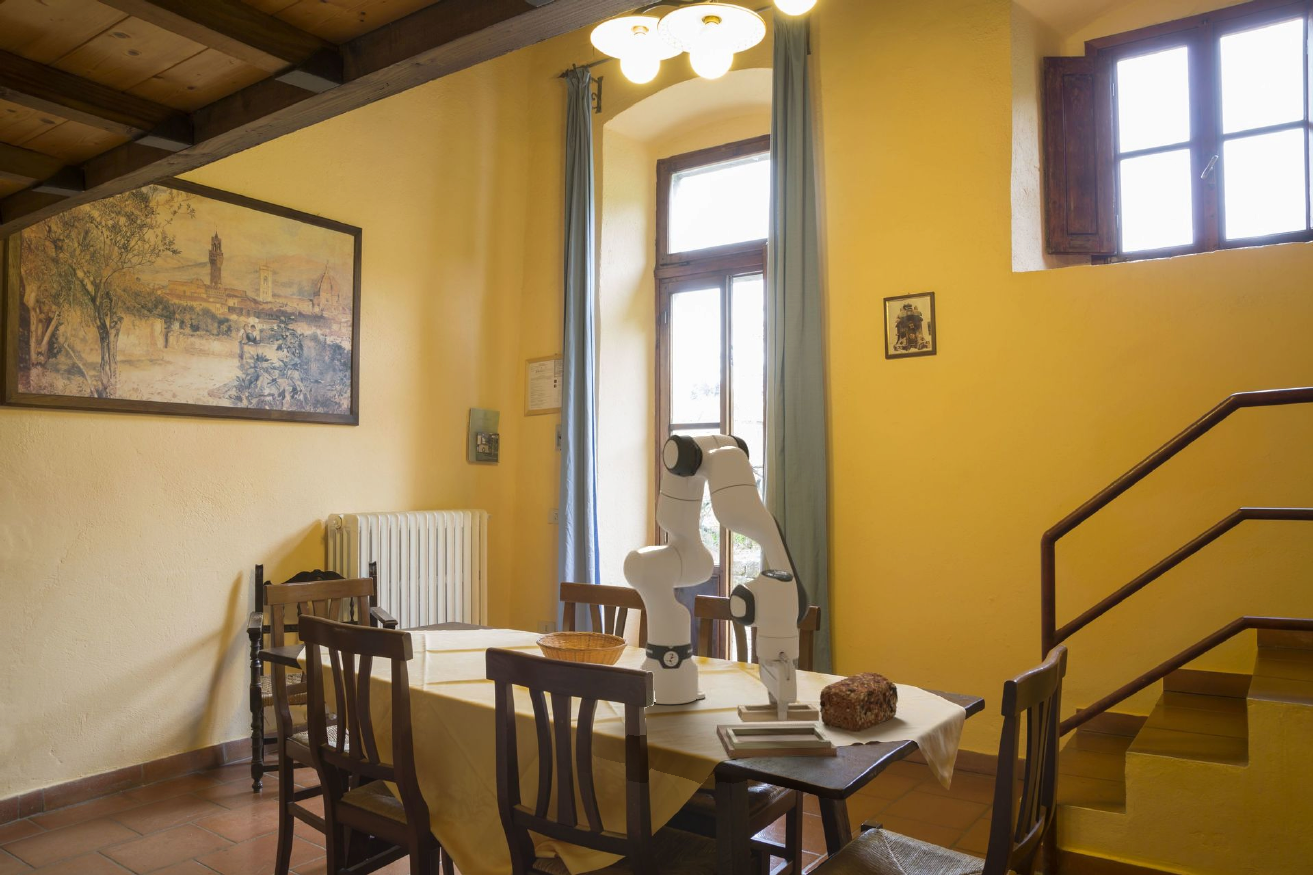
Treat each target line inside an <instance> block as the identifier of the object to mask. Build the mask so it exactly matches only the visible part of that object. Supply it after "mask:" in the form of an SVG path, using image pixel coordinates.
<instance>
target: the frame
mask: <svg viewBox="0 0 1313 875" xmlns="http://www.w3.org/2000/svg"><path fill="white" fill-rule="evenodd" d="M777 710H778V704H769V703H768V704H737V716H738V718H740V720H741V722H742V723H768V722H769V723H773V722H774V723H775V722H776V723H777V722H819V721H820V710H818V709H817V707H815V706H814V704H812V703H789V705H788V709H787V719H786V720H781V721H780V720H779V719H778V718H777Z"/></svg>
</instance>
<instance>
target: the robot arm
mask: <svg viewBox="0 0 1313 875" xmlns="http://www.w3.org/2000/svg"><path fill="white" fill-rule="evenodd" d="M662 461H663V465H664V467H665V470H664V472H663V477H662V481H661V484H660V489H659V495H658V502H657V508H656V514H655V519H656V522H657V524H658V527H660V528H661V529H662V530H663V531H664V532H666V533H668V543H667V544H666V545H649V546H643V547H640V548H636V549H633V550H631V551H630V552H628V553H627V555H626V556H625V559H624V562H623V575H624V579H625V580H626V582H627V583H628V585H630V586H631V587H632V588H633V589H634V590H636V592H637V593H638V595H639V596H640V597H641V600H642V601H643V604H644V607H645V611H646V621H647V622H646V624H647V641H646V642H645V647H644V648H645V656H646V658H645V660H644V661H643V662H642V663H641V665H640V667H639V668H638V669H642V670H646V671H652V673H654V691H655V699H656V703H655V704H659V705H681V704H686V703H687V704H688V703H691V702H694V701H696V699H697V700H700V699H701V700H702V699H704V697H705V698H706V693H705V692H704V691H703V690H701V689H699V666H698V664H697V663H696V662H695V661H694V660H693V658H692V657H693V643H692V641H691V621H692V620H691V618H692V617H691V613H690V611H689V609H688V608H687V607H686V606H685V605H683V604H682V603H680V602H678V600H677V599H676V596H675V588H687V587H695V586H698V585H701V584H702V583H706V582H708V581H710V579H711V578H712V576H713V574H714V570H715V561H714V557H713V555H712V553H711V551H710V550H709V549H708V548H707V547H706V545H704V543H703V541H702V540H703V539H702V538H701V532H700V520H701V514H702V513H701V512H702V504H703V499H704V493H705V486H706V481H707V483H708V489H709V490H708V491H709V497H710V502H711V507H712V512H713V515H714V517H715V519H716V521H717V522H718V523H719V524H720V525H722V526H723V528H725V529H726V530H728V531H730V532H733V533H735V534H737V535H741V536H743V537H746V538H747V539H749V540H752V541H753V542H755V543H756V544H758V545H759V546H760V548H761V549H762V550H763V552H764V555H765V557H766V561H767V563H768V566H769V569H765V570H764V569H763V570H762V571H760V572H759V573H758V575H757V577H756V578H754V579H753V580H750V581H746V582H744V583H741V584H737V585H736V586H735V587H734V588H733V590H732V591H731V593H730V596H729V600H728V608H729V613H730V616H731V618H732V619H733V620H734V621H735V623H737V625H739V626H741V627H747V628H755V627H756V628H757V629H756V639H755V643H754V644H755V645H754V646H755V650H756V657H757V661H758V672H759V673H758V674H759V678H760V679H759V680H760V682H761V683H762V685H764V687H765V688H766V689H767V691H766V692H767V696H768V704H778V710H777V718H778V719H779V720H780V721H781V720H786V719H787V709H788V705H789V704H797V703H796V702H797V698H798V692H797V691H798V690H797V689H798V687H797V686H798V685H797V671H796V667H795V665H794V664H793V663H794V662H793V660H796V659H798V658H800V657H799V656H800V655H799V654H800V649H799V648H800V647H799V646H800V645H799V644H800V643H799V642H800V641H799V640H800V637H799V630H798V625H800V624H801V622H802V621H803V620H804V619H805V618H806V616H807V614H808V612H809V610H810V597H809V594H808V592H807V589H806V587H805V586H804V584H803V582H802V581H801V578H800V576H799V575H798V572H797V569H796V566H795V564H794V561H793V558H792V555H791V551H790V550H789V547H788V544H787V543H788V542H786V538H785V536H784V533H783V530H782V528H781V525H780V523H779V521H778V519H777V518H776V517H775V515H773V514H772V513H771V512H770V511H769V510H768V509H767V507H766V506H765V505H764V502H763V501H762V499H761V496H760V494H759V489H758V485H757V482H756V481H757V480H756V477H755V474H754V471H753V467H752V465H751V463H750V451H749V447H748V445H747V443H746V441H745V440H743V439H742V438H741V437H738V436H736V435H732V434H727V435H726V434H721V433H714V432H701V433H700V432H696V433H695V432H694V433H687V432H679V433H675V434H672V435H670V436H669V437H668V438H667V440H666V442H665V443H664V446H663V449H662Z"/></svg>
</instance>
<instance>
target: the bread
mask: <svg viewBox="0 0 1313 875" xmlns="http://www.w3.org/2000/svg"><path fill="white" fill-rule="evenodd" d="M819 700H820V702H819V706H820V709H819V713H820V716H821V721H822V723H824V724H826V725H829V726H830V725H831V726H830V727H839V728H840V727H841V728H842V729H845V730H846V729H848V730H850V731H852V732H861V731H862V730H866V729H868V728H871V727H873V726H876V725H878V723H879V724H880V723H882V722H885V720H886V721H888V720H890V718H891V719H892V718H893V717H895V716H896V713H897V708H898V707H897V703H898V701H899V695H898V688H897V686H896V684H895V683H893V682H892V681H891V680H890V679H888V678H887V677H885V676H883V675H881V674H878V673H877V672H865V671H864V672H861V673H857V674H855V675H851V676H848V677H847V678H846V677H845V678H843V679H841V680H838V681H836V682H835V681H834V682H833V683H830V684H828V685H826V686H825V687H823V688H822V690H821V691H820V695H819ZM887 719H888V720H887ZM872 725H873V726H872ZM870 726H871V727H870ZM865 728H866V729H865ZM848 730H847V731H848ZM860 730H861V731H860Z"/></svg>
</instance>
